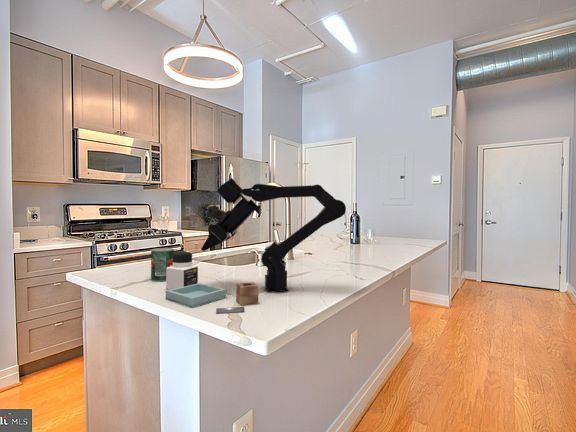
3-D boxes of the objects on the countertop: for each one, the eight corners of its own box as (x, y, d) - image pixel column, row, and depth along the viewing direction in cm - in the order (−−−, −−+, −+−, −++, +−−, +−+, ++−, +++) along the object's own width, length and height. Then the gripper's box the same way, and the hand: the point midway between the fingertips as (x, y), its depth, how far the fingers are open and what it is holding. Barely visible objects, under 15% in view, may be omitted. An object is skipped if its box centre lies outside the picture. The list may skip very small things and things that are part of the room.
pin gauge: (243, 307, 81) (244, 306, 80) (244, 313, 80) (244, 311, 79) (216, 309, 79) (216, 307, 78) (216, 314, 79) (216, 313, 77)
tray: (199, 290, 99) (200, 283, 99) (226, 297, 92) (226, 289, 91) (165, 299, 89) (165, 290, 89) (191, 307, 82) (192, 298, 82)
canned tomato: (148, 278, 114) (148, 248, 114) (170, 276, 119) (170, 247, 119) (153, 282, 108) (154, 251, 107) (176, 280, 112) (177, 249, 112)
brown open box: (252, 298, 91) (253, 281, 91) (258, 303, 86) (258, 285, 86) (236, 300, 89) (236, 283, 89) (240, 305, 84) (240, 287, 84)
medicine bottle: (183, 292, 97) (184, 253, 97) (165, 289, 100) (166, 252, 99) (198, 286, 104) (198, 250, 103) (180, 284, 106) (180, 249, 106)
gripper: (227, 198, 111) (196, 229, 111) (214, 195, 92) (178, 233, 92) (249, 219, 111) (219, 251, 111) (241, 222, 92) (205, 259, 93)
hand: (206, 248), depth 102 cm, fingers open, 9 cm apart
